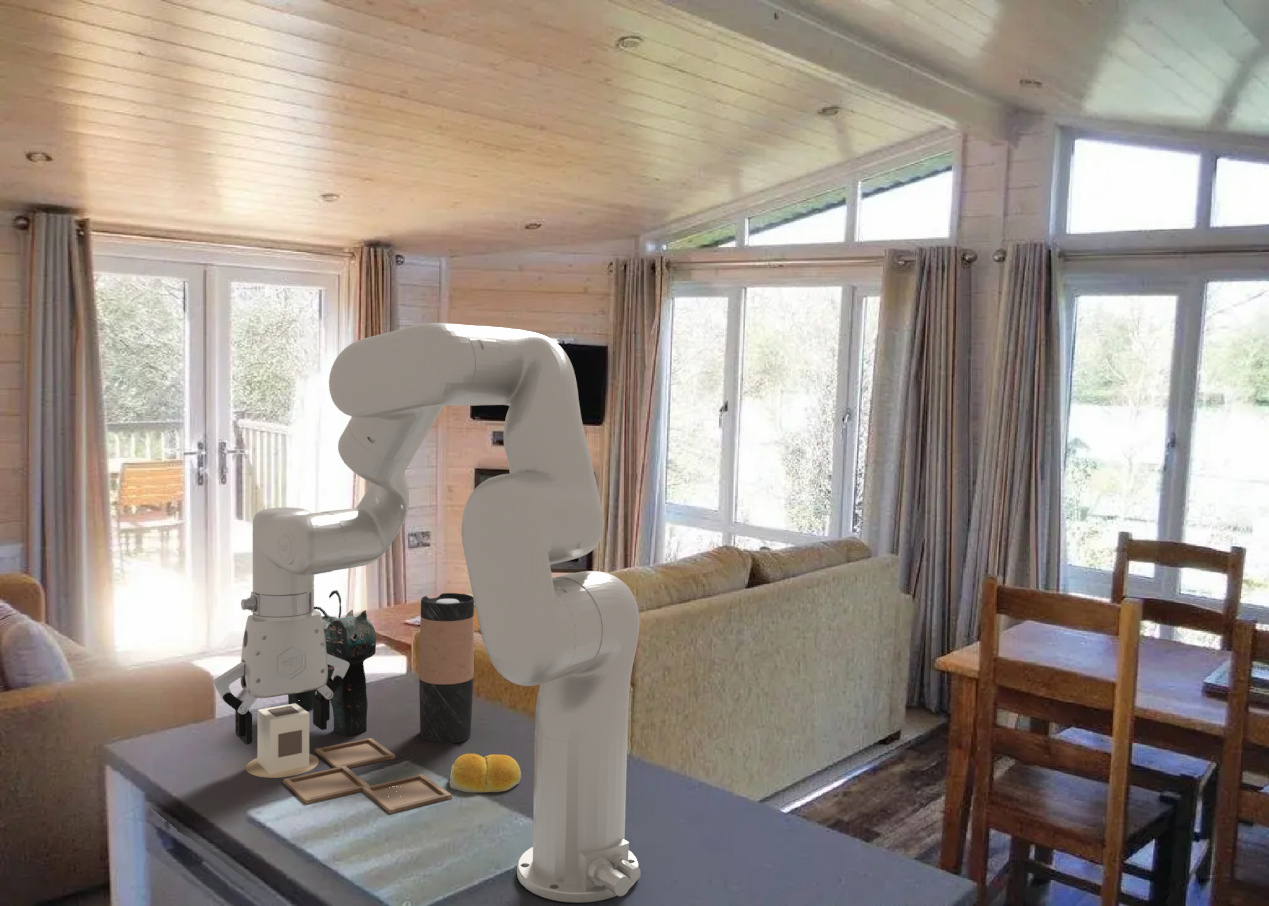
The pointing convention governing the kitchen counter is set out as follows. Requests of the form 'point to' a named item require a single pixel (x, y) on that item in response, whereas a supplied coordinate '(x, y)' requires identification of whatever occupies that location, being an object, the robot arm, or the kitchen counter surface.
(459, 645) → the travel mug
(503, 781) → the bread roll
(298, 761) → the white box with panels
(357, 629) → the ceramic cat
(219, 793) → the kitchen counter surface
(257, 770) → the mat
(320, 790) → the tray
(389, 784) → the tray
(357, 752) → the tray
